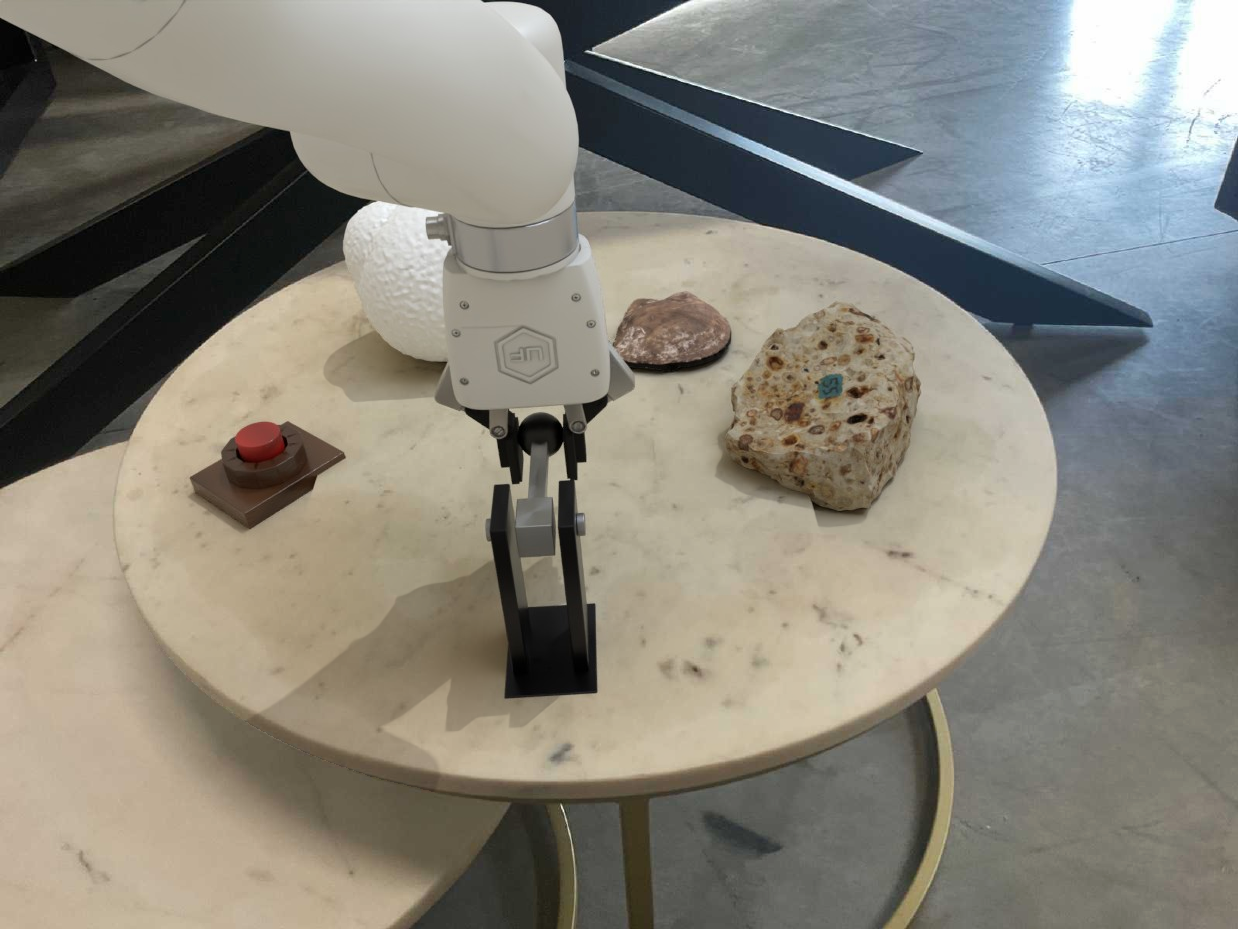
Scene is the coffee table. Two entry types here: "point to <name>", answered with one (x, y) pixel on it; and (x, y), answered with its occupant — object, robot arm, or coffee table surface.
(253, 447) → the button
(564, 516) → the bracket
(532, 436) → the lever
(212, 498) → the control block
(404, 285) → the decorative orb
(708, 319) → the shell
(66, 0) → the robot arm
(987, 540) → the coffee table surface
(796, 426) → the rock
